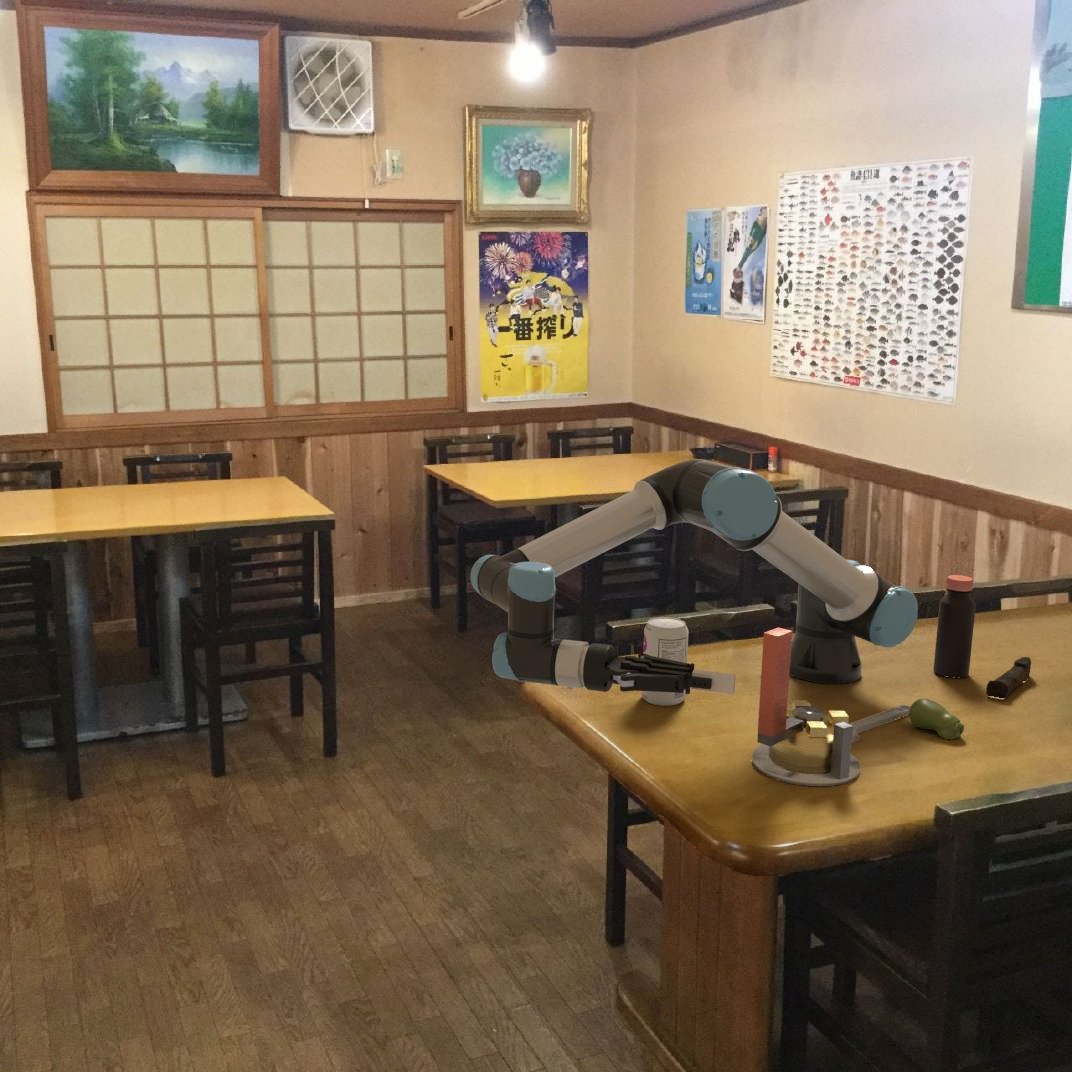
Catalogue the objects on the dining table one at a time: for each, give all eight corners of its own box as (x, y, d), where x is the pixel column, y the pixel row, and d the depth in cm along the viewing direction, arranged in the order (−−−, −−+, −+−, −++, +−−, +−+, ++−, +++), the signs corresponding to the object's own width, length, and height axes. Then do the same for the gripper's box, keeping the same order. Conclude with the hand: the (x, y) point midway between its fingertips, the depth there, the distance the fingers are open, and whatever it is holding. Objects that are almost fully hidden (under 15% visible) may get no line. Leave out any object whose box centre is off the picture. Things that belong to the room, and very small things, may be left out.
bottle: (975, 675, 237) (985, 579, 233) (954, 681, 233) (964, 583, 229) (947, 666, 242) (956, 572, 238) (926, 671, 239) (935, 576, 234)
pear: (925, 691, 211) (973, 716, 203) (918, 717, 212) (966, 743, 205) (906, 697, 207) (955, 722, 200) (899, 723, 209) (947, 750, 202)
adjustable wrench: (902, 711, 218) (903, 702, 217) (931, 722, 212) (932, 713, 212) (808, 737, 204) (809, 728, 203) (837, 750, 198) (838, 740, 198)
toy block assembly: (793, 737, 199) (802, 603, 194) (857, 757, 191) (868, 618, 186) (729, 769, 186) (737, 626, 181) (795, 792, 178) (805, 643, 172)
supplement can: (634, 702, 218) (637, 624, 215) (651, 689, 225) (654, 614, 222) (675, 710, 215) (679, 631, 211) (691, 696, 222) (695, 620, 219)
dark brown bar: (1005, 703, 222) (1008, 680, 221) (984, 698, 225) (987, 675, 224) (1041, 680, 236) (1044, 658, 235) (1021, 675, 238) (1023, 653, 237)
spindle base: (835, 743, 200) (839, 690, 198) (876, 784, 184) (881, 727, 182) (739, 746, 198) (742, 693, 196) (771, 789, 182) (775, 731, 180)
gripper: (597, 675, 195) (739, 693, 188) (575, 701, 183) (725, 721, 176) (599, 632, 194) (742, 648, 186) (576, 655, 182) (728, 673, 174)
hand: (734, 684), depth 181 cm, fingers closed
